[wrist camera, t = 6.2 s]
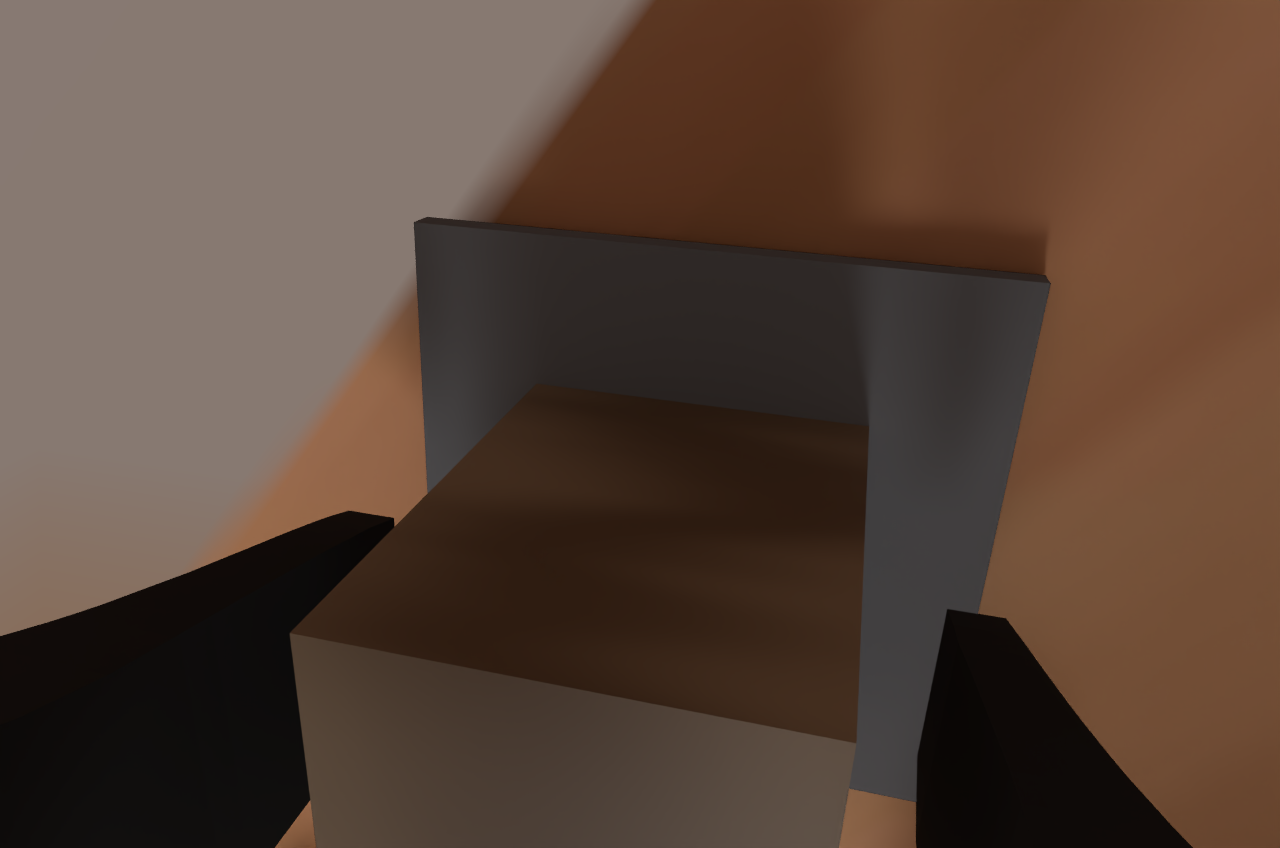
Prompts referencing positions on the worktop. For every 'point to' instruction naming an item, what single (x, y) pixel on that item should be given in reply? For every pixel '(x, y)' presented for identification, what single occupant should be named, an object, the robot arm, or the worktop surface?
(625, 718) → the block
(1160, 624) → the worktop surface
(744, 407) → the mat
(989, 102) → the worktop surface
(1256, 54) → the worktop surface
